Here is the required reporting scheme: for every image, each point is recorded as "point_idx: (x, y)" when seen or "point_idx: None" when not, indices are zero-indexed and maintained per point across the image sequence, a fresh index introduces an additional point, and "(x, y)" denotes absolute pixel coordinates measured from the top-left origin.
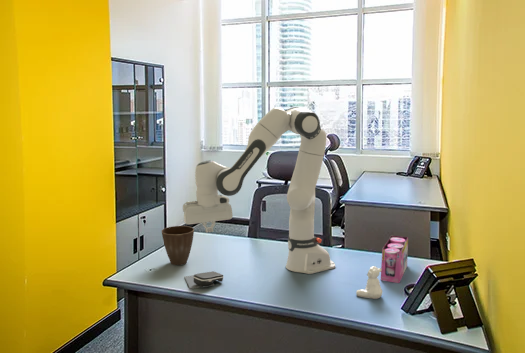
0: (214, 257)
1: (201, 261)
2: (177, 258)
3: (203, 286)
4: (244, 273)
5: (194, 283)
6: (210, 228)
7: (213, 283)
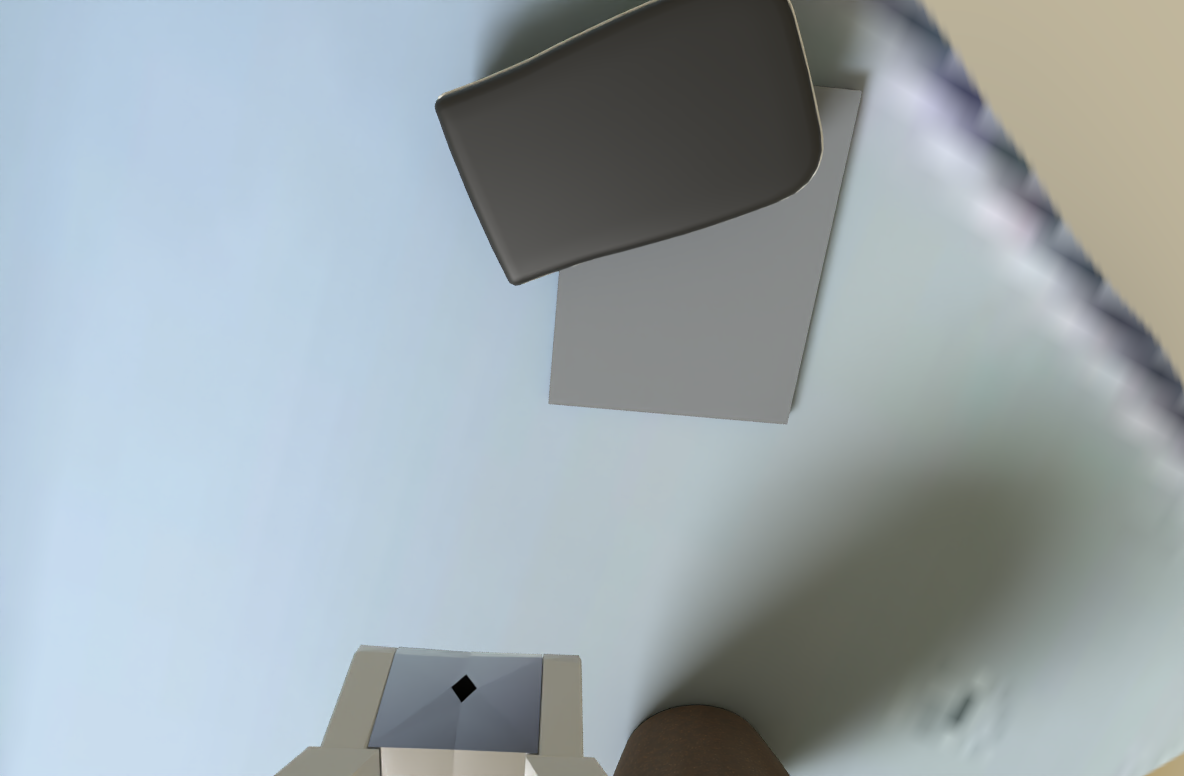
0: None
1: None
2: (746, 752)
3: None
4: (155, 252)
5: None
6: (421, 739)
7: None
